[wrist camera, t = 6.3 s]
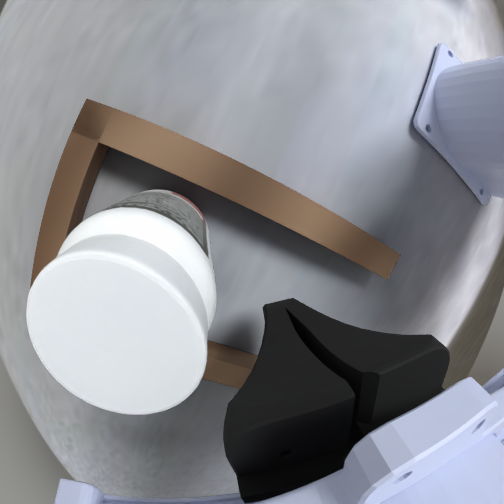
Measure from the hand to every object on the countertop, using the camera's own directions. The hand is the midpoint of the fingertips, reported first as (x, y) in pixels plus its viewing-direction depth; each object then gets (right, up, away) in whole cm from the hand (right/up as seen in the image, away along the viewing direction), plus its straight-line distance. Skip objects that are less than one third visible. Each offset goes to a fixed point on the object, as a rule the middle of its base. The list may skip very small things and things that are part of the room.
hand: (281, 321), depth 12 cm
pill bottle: (-6, +4, +1) cm, 7 cm away
